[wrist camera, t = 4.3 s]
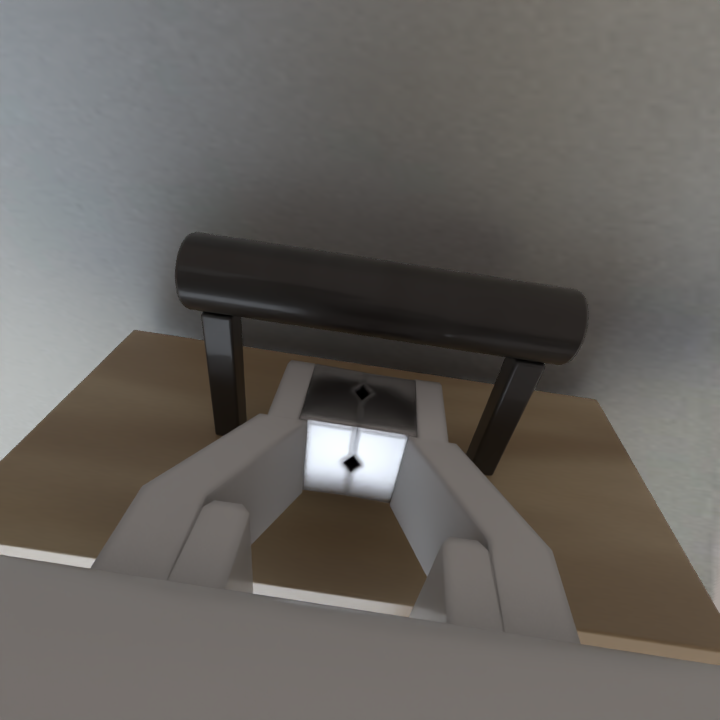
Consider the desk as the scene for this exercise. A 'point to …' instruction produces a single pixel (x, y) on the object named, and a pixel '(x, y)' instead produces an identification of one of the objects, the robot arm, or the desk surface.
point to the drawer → (341, 512)
